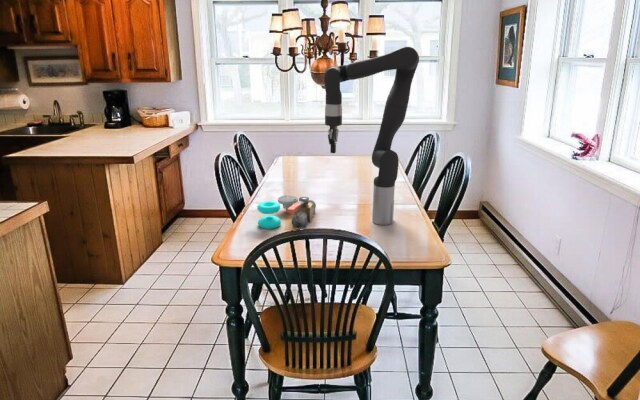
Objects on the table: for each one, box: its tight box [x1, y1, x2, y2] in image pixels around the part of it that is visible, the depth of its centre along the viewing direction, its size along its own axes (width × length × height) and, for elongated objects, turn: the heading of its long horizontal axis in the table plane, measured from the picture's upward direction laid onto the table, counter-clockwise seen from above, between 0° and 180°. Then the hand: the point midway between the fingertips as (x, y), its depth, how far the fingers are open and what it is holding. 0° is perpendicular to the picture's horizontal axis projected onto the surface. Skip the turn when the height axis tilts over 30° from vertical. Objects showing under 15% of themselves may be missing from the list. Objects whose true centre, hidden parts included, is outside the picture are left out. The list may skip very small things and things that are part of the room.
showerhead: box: [277, 194, 299, 213], centre depth 223 cm, size 9×7×10 cm
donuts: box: [256, 200, 282, 230], centre depth 205 cm, size 10×10×10 cm
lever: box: [287, 196, 310, 215], centre depth 205 cm, size 17×4×2 cm, turn 159°
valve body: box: [291, 199, 317, 229], centre depth 212 cm, size 7×22×8 cm, turn 168°
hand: (333, 152), depth 212 cm, fingers closed
